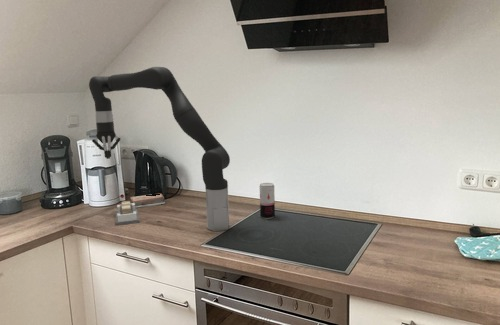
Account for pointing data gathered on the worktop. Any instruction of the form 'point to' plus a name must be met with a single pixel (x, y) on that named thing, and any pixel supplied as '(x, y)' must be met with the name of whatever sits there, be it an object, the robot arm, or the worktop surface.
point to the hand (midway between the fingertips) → (108, 158)
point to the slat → (126, 207)
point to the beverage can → (267, 200)
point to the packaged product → (147, 201)
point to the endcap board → (127, 215)
